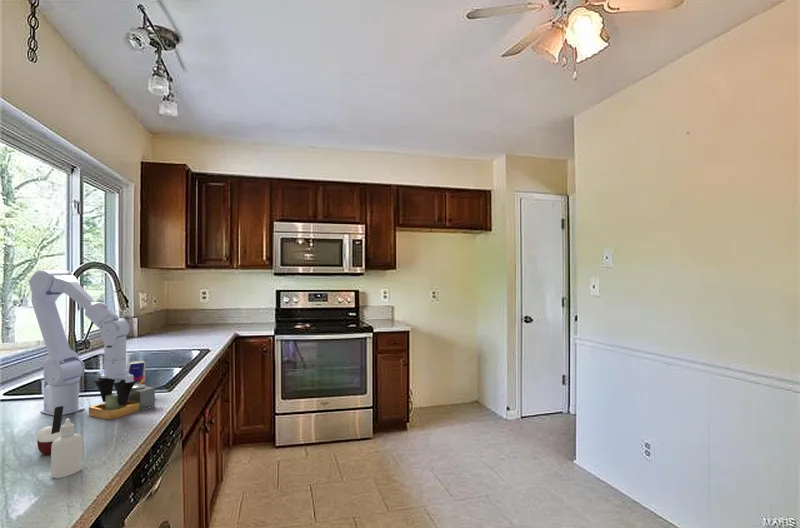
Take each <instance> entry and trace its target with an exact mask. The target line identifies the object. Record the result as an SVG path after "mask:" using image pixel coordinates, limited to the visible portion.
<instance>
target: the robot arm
mask: <svg viewBox="0 0 800 528" xmlns="http://www.w3.org/2000/svg"><path fill="white" fill-rule="evenodd" d="M28 284H29V287H30V289H31V298H30V299H31V305H32V308H33V311H34V313H35V317H36V320H37V323H38V326H39V329H40V332H41V336H42V339H43V342H44V345H45V348H46V351H47V357H46V358H45V360H44V361H43V363H42V367H43V374H42V375H43V378H44V381H45V382H46V383H47V385H46V386H45V388H44V391H43V409H41V410H40V411H39V412H40V413H42V414H47V415H50V416H53V417H54V410H55V408H56V407H60V406H63V414H62V416H65V415H69V414H72V413H76V412H80V411H85V409H86V407H83V406H79V405H80V402H79V401H80V400H79V397H80V396H79V394H80V381H81V377H82V376H83V375H84V373H85V371H86V366H85V363H84V361H83V360H81V358H80V356H79V353H78V352H76V351H74V350H72V349H71V348H70V345H69V342H68V338H67V335H66V332H65V329H64V325H63V323H62V320H61V317H60V313H59V310H58V307H57V304H56V301H57V299H59V297H60V296H62V295H63V294H66V295H67V296H69V298H70V299H72V300H73V301H74V302H76V304H78V305H79V306H80V307H82V308H83V309H84V315H85V317H86V318H87V319H89V320H90V321H91V322H92V324H94V325H95V326H96V327H97V328H98V329H99V335H100V336H101V338H102V343H103V347H104V348H103V349H104V350H103V351H104V352H103V353H104V355H103V369H101V370H98V371H96V378H98V379H95V380H94V383H95V385H96V386H97V388H98V391H99V393H100V397H101V400H102V402H103V403H105V401H106V396H107V395H109V394H113V388H115V392H116V393H117V396H118V404H119V406H121V405H125V404H127V401H128V397H129V394H130V391H131V389H132V387H133V386H134V384H135V381H134V380H133V378H134V375H131V374H129V373H128V372H127V336H128V335H129V334H130V332H131V329H132V328H131V327H132V326H131V324H130V322H129V321H128V320H127V319H126V318H123V317H122V318H120V317H119V315H117V314H115V313H114V312H113V311H112V310H111V309H110V308H109V305H108V304H107V303H105V302H104V303H103V302H101V301H98V302H97V301H96V300H94V299H93V298H92V296H91V295H89V293H88V292H87V291H86V290H85V289H84V288H83V287H82V286H81V284H80V283H79V282H78V280H77V276H75V275H74V274H72V272H71V271H69V270H67V269H57V270H54V269H53V270H52V269H51V270H45V269H39V270H36V271H35V272H34V273H33V274H32V276H31V277H30V278H29V280H28ZM116 381H117V382H116ZM118 381H119V382H118Z"/></svg>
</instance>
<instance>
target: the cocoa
mask: <svg viewBox="0 0 800 528" xmlns="http://www.w3.org/2000/svg"><path fill="white" fill-rule="evenodd" d="M62 414H63V406H60V407H56V408H55V410H54V416H53V419H52V425H48V426H44V427H42V428H41V429H39V430H38V432H37V435H36V439H37V441H36V443H37V448H38V452H39V453H40V454H42V455H45V456H51V446H52V443H53V442H54V441H55V440H56V439H57V438H59V437H60V436H61V426H62V420H63V415H62Z"/></svg>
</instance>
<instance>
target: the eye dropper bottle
mask: <svg viewBox="0 0 800 528" xmlns="http://www.w3.org/2000/svg"><path fill="white" fill-rule="evenodd" d="M70 419H71V418H66V419H65V421H64V424H61V436H60V437H59V438H57V439H56V440H55V441H54V442H53V443H52V446H51V455H50V458H51V460H50V476H51V478H53V479H58V480H59V479H62V478H66V477H69V476H71V475H74V474H76V473H78V472H80V471H81V470H82V469H83V460H84V459H83V456H84V455H83V454H84V453H83V452H84V451H83V450H84V449H83V448H84V446H83V444H84V441H83V436H82V434H79V433H75V423H72V422H71V420H70Z"/></svg>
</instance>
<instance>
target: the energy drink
mask: <svg viewBox="0 0 800 528" xmlns="http://www.w3.org/2000/svg"><path fill="white" fill-rule="evenodd" d="M126 372H128V373H129V374H131V375H134V378H133V380H134V381H135V384H144V385H145V386H146V362H145V360H131V361H128V363H127V366H126Z"/></svg>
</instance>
